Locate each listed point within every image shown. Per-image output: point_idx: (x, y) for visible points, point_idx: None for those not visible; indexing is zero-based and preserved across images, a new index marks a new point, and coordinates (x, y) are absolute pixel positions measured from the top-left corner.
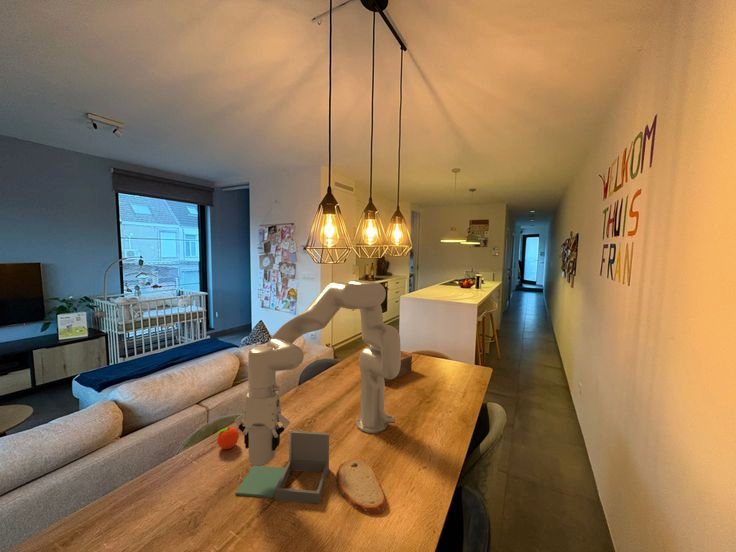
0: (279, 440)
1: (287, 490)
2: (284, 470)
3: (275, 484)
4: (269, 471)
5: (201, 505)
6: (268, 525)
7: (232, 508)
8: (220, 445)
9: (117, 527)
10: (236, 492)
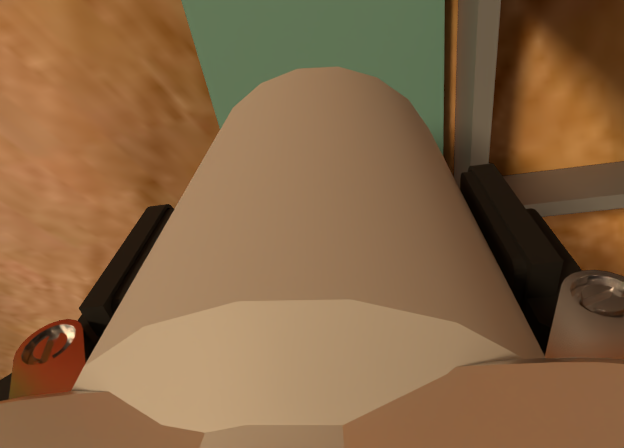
0: (546, 233)
1: (543, 212)
2: (477, 68)
3: (424, 120)
4: (332, 23)
5: None
6: None
7: None
8: None
9: (3, 370)
10: None
